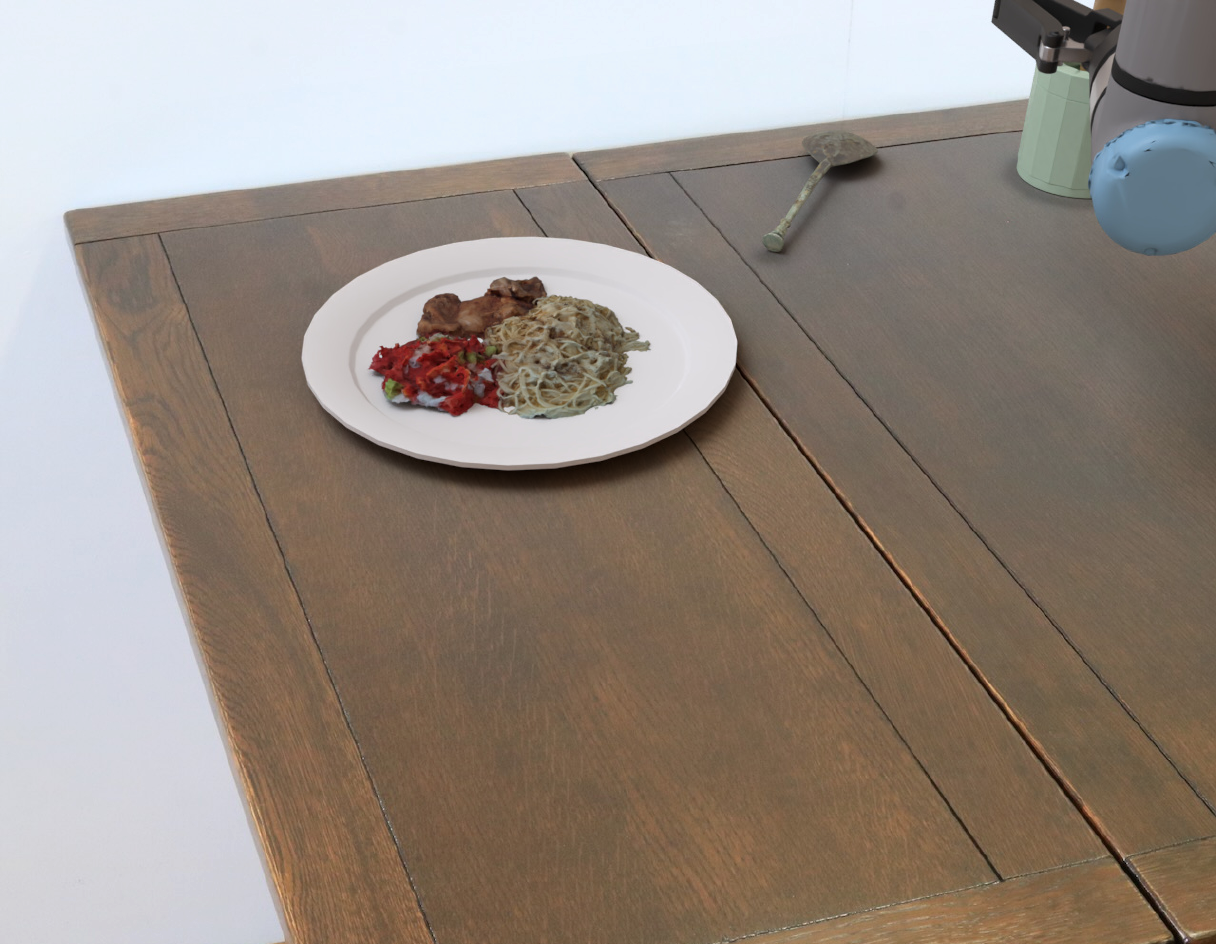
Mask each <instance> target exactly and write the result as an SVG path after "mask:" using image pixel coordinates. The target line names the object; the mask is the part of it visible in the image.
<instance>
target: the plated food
mask: <svg viewBox="0 0 1216 944" xmlns="http://www.w3.org/2000/svg"><path fill="white" fill-rule="evenodd" d="M737 351H738V339H737V334H736V332H735V328H734V325H733V322H732V319H731V318H730V316H729V314H728V313H727V312H726V310H725V309H724V307H723V305H722V304H721V302H719V300H718V299H717V298H716V297H715V296H714V295H713V294H711V293H710V292H709V291H708V290H707V289H706V288H705V287H704V286H703V285H701V284H700V283H699V282H698V281H697V280H695V279H693V278H691V277H690V276H688V275H686V274H685V273H683V272H681V271H679V270H678V269H676V268H674V267H673V266H672V265H669V264H667V263H663V262H661V261H658V260H656V259H655V258H651V257H649V256H646V255H644V254H641V253H639V252H636V251H631V250H627V249H623V248H620V247H616V246H613V245H608V244H604V243H598V242H591V241H586V240H579V239H574V238H573V239H572V238H561V237H546V236H545V237H543V236H510V237H509V236H508V237H507V236H505V237H490V238H489V237H488V238H480V239H473V240H466V241H458V242H453V243H447V244H444V245H439V246H435V247H430V248H425V249H421V250H418V251H415V252H412V253H408V254H407V255H403V256H401V257H398V258H395V259H393V260H389V261H386V262H384V263H382V264H380V265H378V266H376V267H374V268H372V269H370V270H368V271H366V272H364V273H363V274H360V275H358V276H356V277H355V278H354V279H352V280H351V281H349V282H348V283H347V284H345V285H344V286H343V287H341V288H340V289H338V290H337V291H336V292H334V293H333V294H332V295H331V296H330V297H329V298H328V299H327V300H326V301H325V302H324V304H323V305H322V306H321V307H320V308H319V309H318V310H317V311H316V312H315V314H314V315H313V317H312V319H311V321H310V323H309V325H308V327H307V329H306V331H305V333H304V335H303V342H302V350H301V364H302V368H303V372H304V376H305V379H306V384H307V386H308V389H310V391H311V392H312V394H313V396H314V397H315V399H316V400H317V401H318V403H319V404H320V406H321V407H322V408H323V409H324V411H326V412H327V413H328V414H330V415H331V416H332V417H333V418H334V419H335V420H337V421H338V422H339V423H340V424H341V425H343V426H344V427H345V428H346V429H348V430H349V431H351V432H354V433H355V434H357V435H359V436H360V437H362V438H365V439H367V440H368V441H370V442H372V443H374V444H376V445H377V446H380V447H383V448H386V449H389V450H391V451H395V452H397V453H401V454H403V455H406V456H408V457H409V456H410V457H412V458H414V459H418V460H424V461H429V462H433V463H439V464H443V465H449V466H455V467H459V468H470V469H484V470H499V471H525V470H548V469H549V470H550V469H559V468H566V467H572V466H577V465H584V464H589V463H590V464H591V463H596V462H597V463H598V462H601V461H606V460H609V459H611V458H617V457H618V456H622V455H626V454H629V453H632V452H635V451H639V450H642V449H645V448H647V447H649V446H651V445H653V444H656V443H658V442H660V441H662V440H664V439H666V438H668V437H670V436H673V435H674V434H677V433H679V432H680V431H682V430H683V429H684V428H686V427H687V426H689V425H690V424H692V423H693V422H694V421H696V420H697V419H699V418H700V417H701V416H703V415H704V414H706V413H707V411H709V409H710V408H711V407H712V406H713V405H714V404H715V403H716V402H717V400H718V399H719V398H720V397H721V396H722V395H723V394H724V393H725V391H726V389H727V387H728V385H729V383H730V381H731V379H732V377H733V374H734V372H735V370H736V363H737Z"/></svg>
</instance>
